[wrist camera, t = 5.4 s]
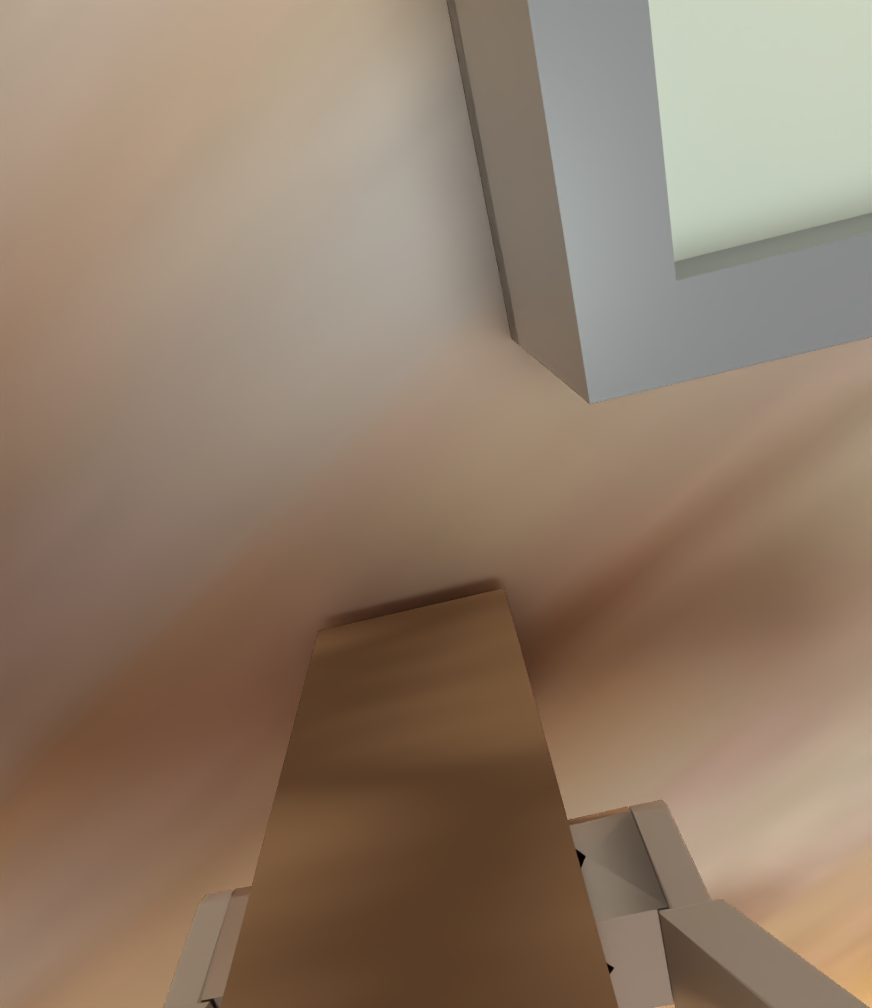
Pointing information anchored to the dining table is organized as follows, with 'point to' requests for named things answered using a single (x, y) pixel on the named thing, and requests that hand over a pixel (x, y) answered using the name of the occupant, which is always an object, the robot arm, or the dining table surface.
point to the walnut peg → (419, 832)
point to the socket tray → (621, 214)
